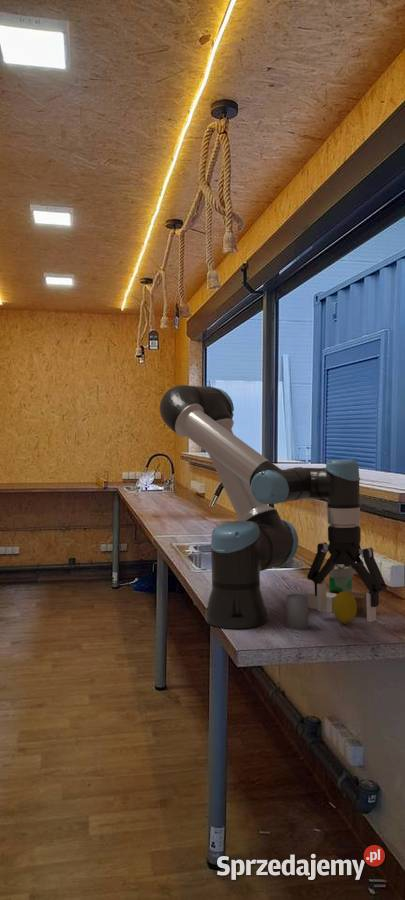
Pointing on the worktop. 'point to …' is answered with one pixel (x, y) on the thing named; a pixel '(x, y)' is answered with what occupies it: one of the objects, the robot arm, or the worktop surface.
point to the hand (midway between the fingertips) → (346, 615)
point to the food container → (340, 578)
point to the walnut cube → (360, 603)
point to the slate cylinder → (297, 611)
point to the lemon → (344, 607)
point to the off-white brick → (313, 600)
